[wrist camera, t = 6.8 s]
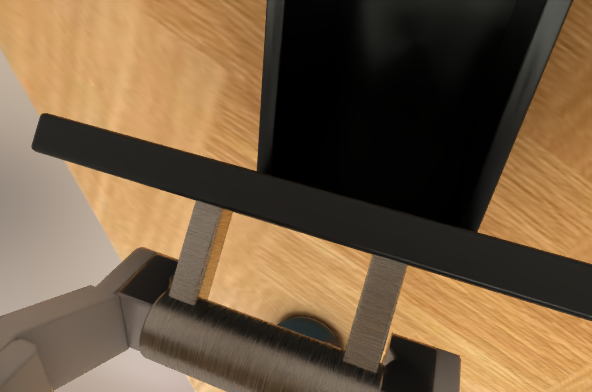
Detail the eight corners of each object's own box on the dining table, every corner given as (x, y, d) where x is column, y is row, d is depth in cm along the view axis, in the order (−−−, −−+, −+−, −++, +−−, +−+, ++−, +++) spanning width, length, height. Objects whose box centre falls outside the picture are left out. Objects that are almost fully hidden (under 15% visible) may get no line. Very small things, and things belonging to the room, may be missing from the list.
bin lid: (39, 110, 9) (-27, 333, 9) (635, 276, 6) (547, 591, 6) (253, 182, 22) (228, 271, 22) (473, 244, 19) (445, 345, 19)
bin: (344, -102, 23) (273, -121, 15) (560, -79, 21) (609, -86, 13) (314, 119, 30) (255, 185, 22) (474, 157, 27) (471, 247, 20)
